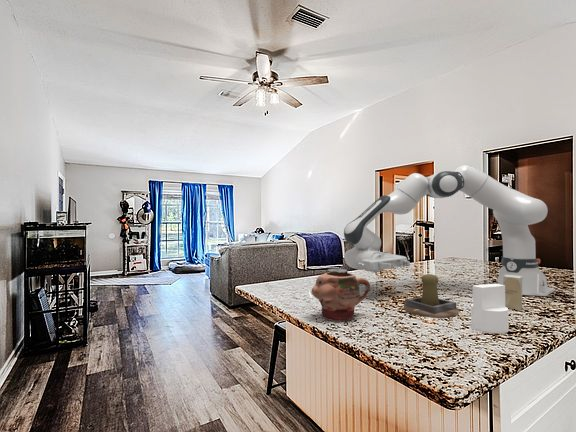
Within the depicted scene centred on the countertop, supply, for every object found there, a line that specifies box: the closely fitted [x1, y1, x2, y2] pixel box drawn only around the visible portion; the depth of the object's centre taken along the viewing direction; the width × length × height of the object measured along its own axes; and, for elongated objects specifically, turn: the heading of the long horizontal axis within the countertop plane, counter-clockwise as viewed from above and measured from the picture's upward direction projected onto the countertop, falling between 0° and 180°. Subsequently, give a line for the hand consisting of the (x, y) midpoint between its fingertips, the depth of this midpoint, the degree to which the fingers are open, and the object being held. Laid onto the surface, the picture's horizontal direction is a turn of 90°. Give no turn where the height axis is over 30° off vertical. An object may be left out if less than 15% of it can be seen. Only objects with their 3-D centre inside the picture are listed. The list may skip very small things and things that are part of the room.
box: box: [503, 275, 523, 311], centre depth 110 cm, size 5×4×11 cm
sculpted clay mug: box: [311, 271, 371, 322], centre depth 103 cm, size 20×12×14 cm, turn 110°
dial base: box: [403, 296, 460, 319], centre depth 109 cm, size 17×17×3 cm
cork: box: [421, 273, 440, 306], centre depth 109 cm, size 6×6×11 cm
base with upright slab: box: [470, 283, 510, 334], centre depth 91 cm, size 9×9×12 cm
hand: (400, 265), depth 122 cm, fingers open, 8 cm apart
